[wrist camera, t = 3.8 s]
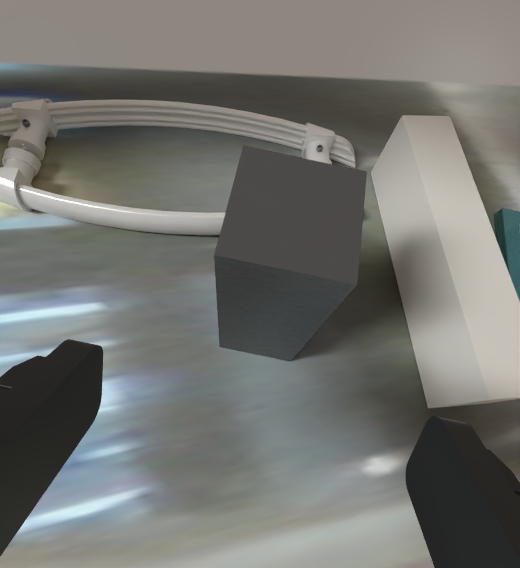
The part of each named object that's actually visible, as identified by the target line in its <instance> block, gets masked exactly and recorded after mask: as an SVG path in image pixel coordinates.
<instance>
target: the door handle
mask: <svg viewBox="0 0 520 568" xmlns="http://www.w3.org/2000/svg"><path fill="white" fill-rule="evenodd" d="M105 126H160V127H175V128H188V129H197V130H206V131H214V132H221V133H227V134H233V135H239V136H245V137H250V138H255V139H259V140H264V141H269V142H273V143H277V144H281V145H285V146H288V147H292V148H296V149H300V150H302V158H306V159H309V160H314V161H319V162H323V163H328V164H332V162H331V160H334V161H337V162H340V163H342V164H345V165H347V166H350V167H353V168H355V154H354V149H353V147H352V145H351V143H350V142H349V141H348V140H347V139H345V138H343V137H341V136H338V135H335V134H334V131H332V130H329V129H326V128H323V127H320V126H317V125H314V124H311V123H308V122H307V123H306V124H305V125H302V124H299V123H295V122H291V121H287V120H284V119H280V118H275V117H271V116H266V115H261V114H257V113H252V112H247V111H241V110H235V109H229V108H223V107H217V106H210V105H201V104H193V103H184V102H171V101H156V100H82V101H67V102H53V101H51V100H50V99H47V98H46V99H39V100H31V101H23V102H15V103H12V105H11V107H8V108H1V109H0V134H2V135H4V136H11V137H10V139H9V142H8V146H9V148H7V149H6V150H5V152H4V155H3V158H2V164H3V165H4V166H3V167H0V202H3V203H6V204H8V205H11V206H14V207H16V208H19V209H22V210H25V211H27V212H31V211H32V209H34V210H38V211H41V212H45V213H49V214H52V215H56V216H59V217H63V218H68V219H72V220H77V221H82V222H87V223H91V224H96V225H101V226H108V227H114V228H121V229H127V230H134V231H143V232H154V233H164V234H183V235H220V232H221V228H222V224H223V221H224V217H225V213H197V212H174V211H159V210H149V209H139V208H130V207H124V206H117V205H111V204H104V203H98V202H92V201H87V200H83V199H78V198H73V197H69V196H64V195H59V194H55V193H51V192H48V191H44V190H41V189H37V188H33V187H32V185H31V182H32V179H33V177H35V176H36V175H37V174H38V171H39V169H40V167H41V162H40V161H41V160H42V159H43V158H44V155H45V150H46V146H45V141H46V138H47V137H56V135H57V132H58V130H60V129H72V128H85V127H105ZM330 159H331V160H330Z"/></svg>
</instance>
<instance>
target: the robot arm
mask: <svg viewBox="0 0 520 568" xmlns="http://www.w3.org/2000/svg"><path fill="white" fill-rule="evenodd" d="M102 371H103V349H102V347H101V346H99V345H94V344H89V343H84V342H79V341H75V340H70V339H69V340H66V341H64V342H63V343H62V344H60V345H59V346H58V347H57V348H56V349H55V350H54V351H52V352H51V353H50V354H49V355H48V356H47V357H42V356H36V357H34V358H32V359H29V360H27V361H25V362H23V363H20V364H18V365H16V366H14V367H12V368H11V369H10V370H8V371H7V372H6V373H5V374H4V375H2V376H1V377H0V556H1V555H2V553H3V552H4V550H5V549H6V547H7V546H8V544H9V543H10V542H11V540H12V539H13V537H14V536H15V534H16V533H17V531H18V530H19V529H20V527H21V526H22V524H23V523H24V521H25V520H26V519H27V517H28V516H29V514H30V513H31V511H32V510H33V508H34V507H35V506H36V504H37V503H38V501H39V500H40V498H41V497H42V495H43V494H44V493H45V491H46V490H47V488H48V487H49V485H50V484H51V483H52V481H53V480H54V478H55V477H56V475H57V474H58V472H59V471H60V470H61V468H62V467H63V465H64V464H65V462H66V461H67V459H68V458H69V457H70V455H71V454H72V452H73V451H74V449H75V448H76V446H77V445H78V444H79V442H80V441H81V439H82V438H83V436H84V435H85V434H86V432H87V431H88V429H89V428H90V426H91V425H92V423H93V422H94V420H95V418H96V415H97V413H98V410H99V407H100V403H101V396H102ZM406 485H407V490H408V493H409V496H410V499H411V501H412V504H413V507H414V510H415V513H416V516H417V519H418V521H419V524H420V527H421V530H422V533H423V536H424V538H425V541H426V544H427V547H428V550H429V553H430V556H431V558H432V561H433V564H434V567H435V568H520V483H519V481H518V480H517V478H516V477H515V475H514V474H513V473H512V471H511V470H510V469H509V468H508V467H507V466H506V465H505V464H504V463H503V462H502V461H500V460H499V459H498V458H497V457H496V456H495V455H494V454H493V453H492V452H491V451H490V450H487V449H486V448H485V446H484V445H483V443H482V442H481V440H480V439H479V437H478V436H477V434H476V433H475V431H474V430H473V428H472V427H471V426H470V425H469V424H468V423H466V422H462V421H457V420H452V419H447V418H442V417H437V416H432V417H430V418H429V419H428V421H427V422H426V424H425V427H424V429H423V431H422V433H421V435H420V437H419V439H418V441H417V444H416V446H415V448H414V450H413V452H412V454H411V456H410V458H409V461H408V463H407V467H406Z"/></svg>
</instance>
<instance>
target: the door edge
mask: <svg viewBox="0 0 520 568" xmlns="http://www.w3.org/2000/svg"><path fill="white" fill-rule="evenodd" d="M371 177H372V181H373V185H374V189H375V193H376V197H377V201H378V205H379V209H380V214H381V218H382V222H383V226H384V230H385V234H386V238H387V242H388V246H389V251H390V255H391V259H392V263H393V267H394V271H395V275H396V279H397V283H398V288H399V292H400V296H401V300H402V304H403V308H404V312H405V316H406V320H407V325H408V329H409V333H410V337H411V341H412V345H413V349H414V353H415V357H416V362H417V366H418V370H419V374H420V378H421V382H422V386H423V390H424V394H425V399H426V403H427V407H428V408H439V407H452V406H464V405H476V404H485V403H493V402H501V401H509V400H517V399H520V301H519V298H518V296H517V293H516V291H515V288H514V285H513V283H512V280H511V277H510V275H509V272H508V269H507V267H506V264H505V261H504V259H503V256H502V253H501V251H500V248H499V245H498V243H497V240H496V237H495V235H494V232H493V229H492V227H491V224H490V221H489V219H488V216H487V213H486V211H485V208H484V205H483V203H482V200H481V197H480V195H479V192H478V190H477V187H476V184H475V182H474V179H473V176H472V174H471V171H470V168H469V166H468V163H467V160H466V158H465V155H464V152H463V150H462V147H461V144H460V142H459V139H458V136H457V134H456V131H455V128H454V126H453V123H452V120H451V118H450V116H415V115H402V116H401V118H400V120H399V122H398V124H397V125H396V127H395V129H394V131H393V133H392V135H391V136H390V138H389V140H388V142H387V144H386V145H385V147H384V149H383V151H382V153H381V154H380V156H379V158H378V160H377V162H376V164H375V165H374V167H373V169H372V171H371Z"/></svg>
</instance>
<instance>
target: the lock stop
mask: <svg viewBox="0 0 520 568" xmlns="http://www.w3.org/2000/svg"><path fill="white" fill-rule="evenodd" d="M366 174H367V172H366V171H362V170H357V169H352V168H347V167H343V166H338V165H333V164H328V163H323V162H319V161H314V160H309V159H304V158H300V157H295V156H290V155H285V154H281V153H276V152H271V151H266V150H262V149H257V148H252V147H247V146H243V150H242V153H241V157H240V161H239V165H238V168H237V172H236V176H235V180H234V183H233V187H232V191H231V195H230V198H229V202H228V206H227V209H226V213H225V217H224V221H223V224H222V228H221V232H220V236H219V239H218V243H217V247H216V250H215V254H214V259H215V276H216V293H217V310H218V327H219V344H220V347H223V348H227V349H232V350H237V351H242V352H247V353H252V354H257V355H262V356H267V357H271V358H276V359H281V360H286V361H291V360H292V359H293V358H294V357H295V356H296V354H297V353H298V352H299V351H300V350H301V349H302V348H303V346H304V345H305V344H306V343H307V342H308V341H309V340H310V338H311V337H312V336H313V335H314V334H315V333H316V332H317V330H318V329H319V328H320V327H321V326H322V325H323V324H324V322H325V321H326V320H327V319H328V318H329V317H330V316H331V314H332V313H333V312H334V311H335V310H336V309H337V307H338V306H339V305H340V304H341V303H342V302H343V301H344V299H345V298H346V297H347V296H348V295H349V294H350V293H351V291H352V290H353V289H354V288H355V287H356V286H357V284H358V271H359V259H360V247H361V235H362V223H363V211H364V198H365V186H366Z"/></svg>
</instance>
